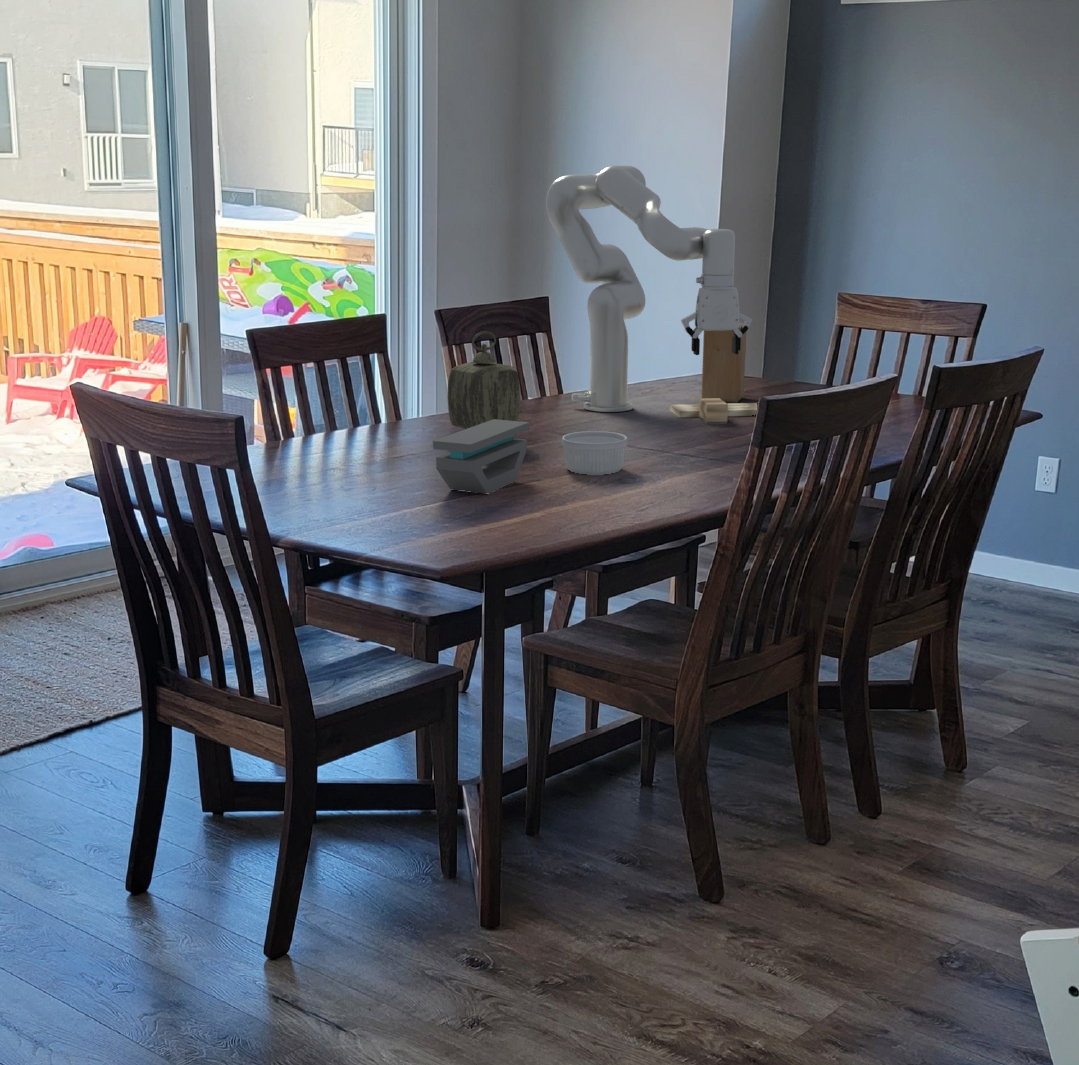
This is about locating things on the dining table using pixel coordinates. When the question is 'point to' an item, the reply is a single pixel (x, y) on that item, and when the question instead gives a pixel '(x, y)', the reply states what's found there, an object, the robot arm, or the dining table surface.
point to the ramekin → (594, 452)
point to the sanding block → (713, 410)
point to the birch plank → (733, 410)
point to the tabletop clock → (483, 390)
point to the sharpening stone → (482, 456)
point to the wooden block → (723, 366)
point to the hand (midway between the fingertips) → (715, 354)
